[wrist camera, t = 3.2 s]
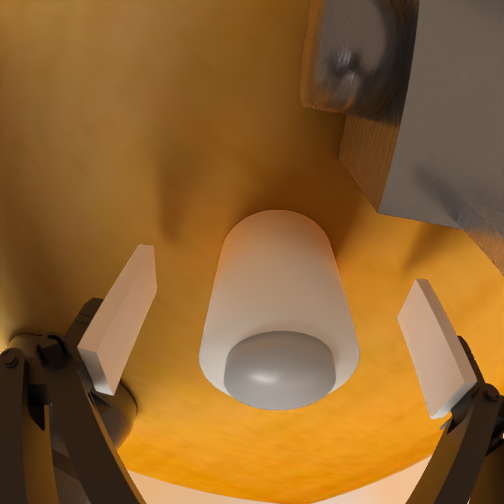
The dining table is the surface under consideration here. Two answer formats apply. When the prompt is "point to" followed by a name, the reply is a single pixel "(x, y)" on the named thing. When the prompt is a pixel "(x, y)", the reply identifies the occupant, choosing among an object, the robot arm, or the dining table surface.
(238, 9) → the dining table surface
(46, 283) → the dining table surface
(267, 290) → the white cylindrical container
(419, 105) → the motor
